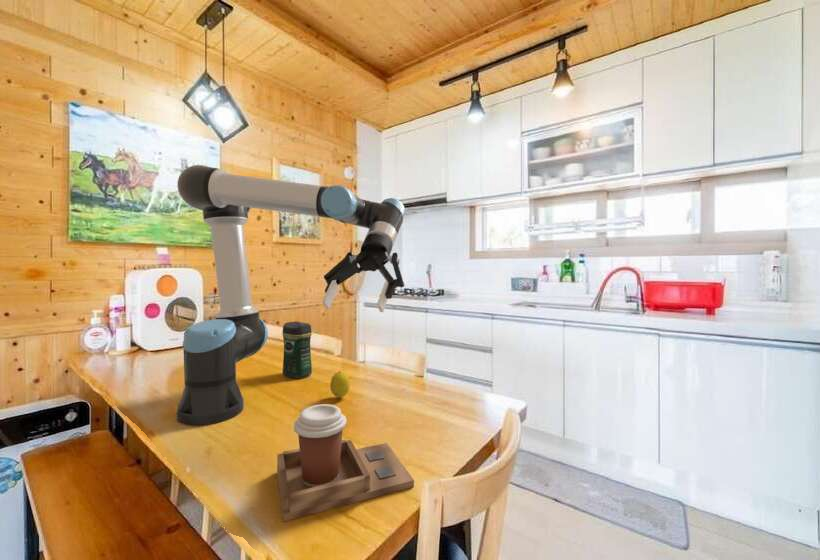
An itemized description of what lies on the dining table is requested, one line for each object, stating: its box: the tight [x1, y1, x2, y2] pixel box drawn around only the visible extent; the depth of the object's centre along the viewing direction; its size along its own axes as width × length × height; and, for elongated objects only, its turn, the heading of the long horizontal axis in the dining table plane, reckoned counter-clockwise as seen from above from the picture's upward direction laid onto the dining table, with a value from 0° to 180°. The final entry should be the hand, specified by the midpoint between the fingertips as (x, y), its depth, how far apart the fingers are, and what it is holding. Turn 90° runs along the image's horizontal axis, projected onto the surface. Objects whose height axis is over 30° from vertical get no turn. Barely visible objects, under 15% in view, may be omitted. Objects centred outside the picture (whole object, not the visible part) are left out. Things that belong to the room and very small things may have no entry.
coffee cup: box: [293, 403, 348, 488], centre depth 63 cm, size 9×9×12 cm
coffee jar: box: [282, 321, 313, 379], centre depth 123 cm, size 10×8×19 cm
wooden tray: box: [276, 439, 415, 523], centre depth 65 cm, size 22×14×4 cm, turn 114°
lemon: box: [329, 370, 351, 399], centre depth 103 cm, size 6×6×8 cm
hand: (351, 306), depth 80 cm, fingers open, 13 cm apart
